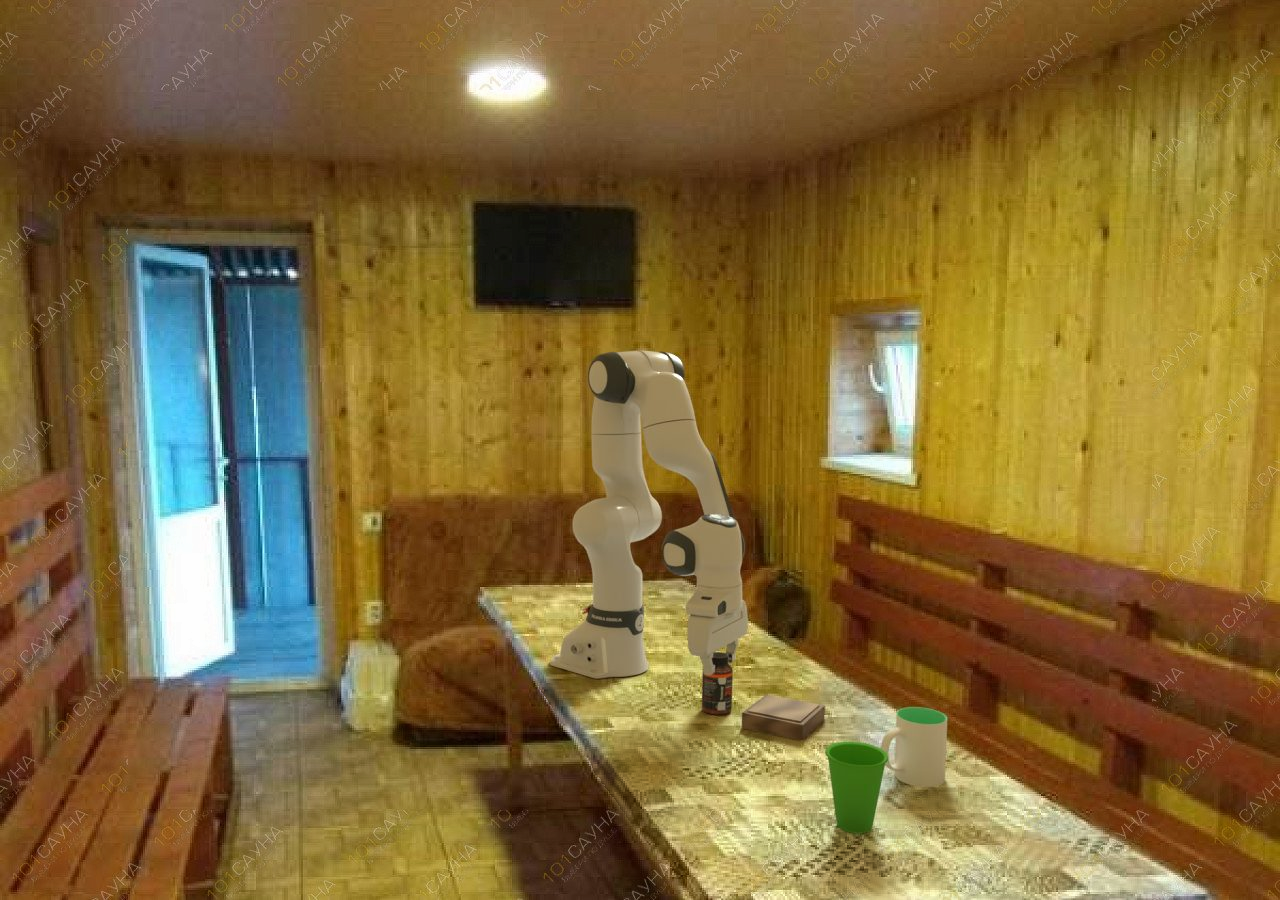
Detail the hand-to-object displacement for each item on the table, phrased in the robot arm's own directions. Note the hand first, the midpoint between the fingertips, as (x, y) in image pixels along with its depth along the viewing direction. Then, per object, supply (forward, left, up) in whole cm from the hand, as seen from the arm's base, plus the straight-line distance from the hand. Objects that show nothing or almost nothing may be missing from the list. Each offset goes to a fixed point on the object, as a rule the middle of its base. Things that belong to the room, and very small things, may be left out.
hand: (719, 667), depth 186 cm
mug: (+40, -12, -9) cm, 43 cm away
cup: (+37, -33, -9) cm, 51 cm away
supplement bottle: (-1, 0, -9) cm, 9 cm away
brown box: (+13, 0, -9) cm, 16 cm away
